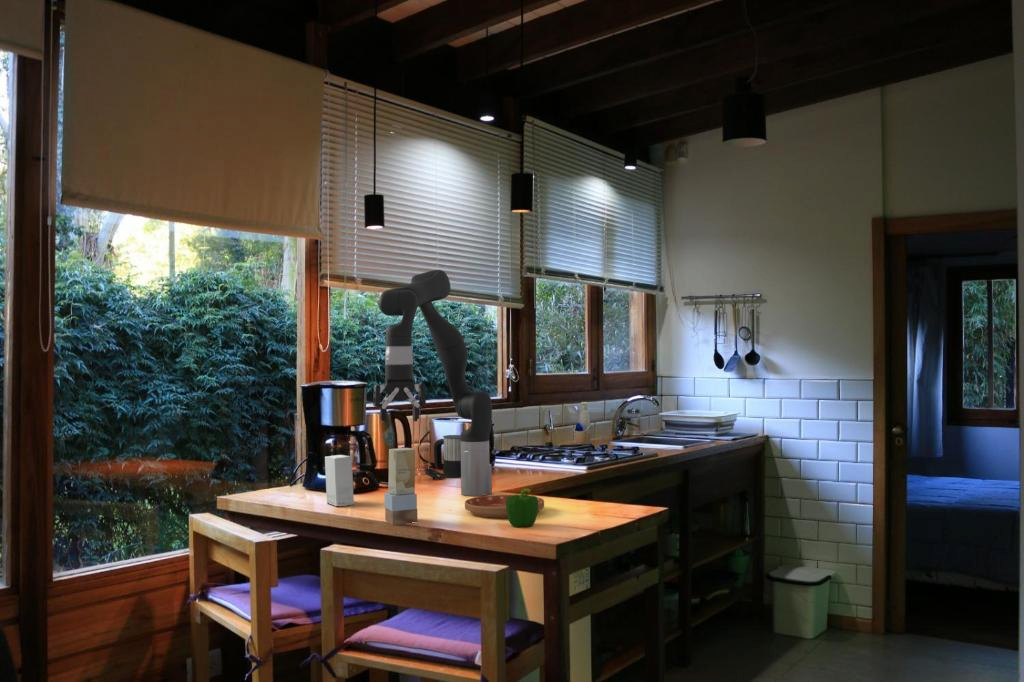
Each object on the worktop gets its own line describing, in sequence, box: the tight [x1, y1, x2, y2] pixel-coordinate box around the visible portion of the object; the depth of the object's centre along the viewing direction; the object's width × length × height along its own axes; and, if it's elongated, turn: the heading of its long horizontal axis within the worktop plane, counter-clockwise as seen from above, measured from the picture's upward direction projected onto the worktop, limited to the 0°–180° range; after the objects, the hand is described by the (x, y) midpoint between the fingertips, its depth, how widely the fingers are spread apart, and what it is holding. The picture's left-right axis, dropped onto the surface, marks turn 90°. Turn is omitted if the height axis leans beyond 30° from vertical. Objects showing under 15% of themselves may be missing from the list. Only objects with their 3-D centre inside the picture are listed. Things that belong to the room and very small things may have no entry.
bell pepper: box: [506, 488, 539, 528], centre depth 244 cm, size 8×8×10 cm
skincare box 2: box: [387, 447, 416, 495], centre depth 251 cm, size 6×4×12 cm
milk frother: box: [423, 434, 461, 480], centre depth 332 cm, size 14×16×15 cm
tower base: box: [384, 507, 418, 526], centre depth 251 cm, size 7×7×4 cm
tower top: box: [383, 491, 418, 511], centre depth 251 cm, size 7×7×4 cm
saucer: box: [464, 494, 545, 519], centre depth 263 cm, size 23×23×4 cm
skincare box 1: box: [324, 454, 355, 507], centre depth 278 cm, size 8×6×15 cm
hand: (399, 422), depth 251 cm, fingers open, 8 cm apart
